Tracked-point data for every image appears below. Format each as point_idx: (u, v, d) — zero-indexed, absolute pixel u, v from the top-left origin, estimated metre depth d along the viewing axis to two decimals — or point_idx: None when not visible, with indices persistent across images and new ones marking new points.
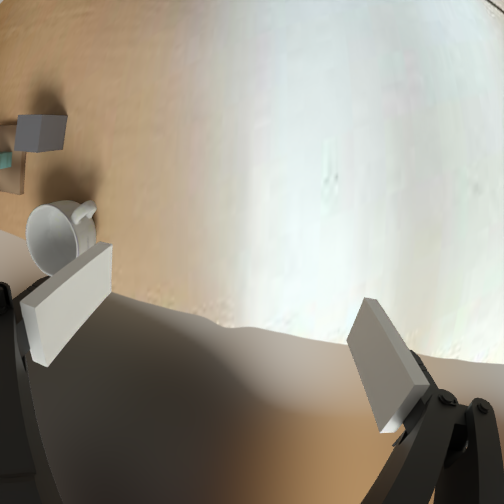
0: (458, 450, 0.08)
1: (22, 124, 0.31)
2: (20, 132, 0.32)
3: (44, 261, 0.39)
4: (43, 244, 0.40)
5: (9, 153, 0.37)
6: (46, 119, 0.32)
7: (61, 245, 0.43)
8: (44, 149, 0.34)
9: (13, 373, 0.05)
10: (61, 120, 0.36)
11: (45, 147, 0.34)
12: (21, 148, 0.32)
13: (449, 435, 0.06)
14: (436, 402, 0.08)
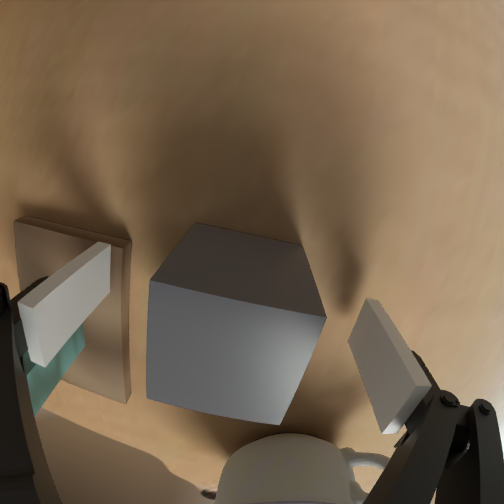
0: (459, 450, 0.08)
1: (187, 329, 0.09)
2: (178, 357, 0.10)
3: None
4: None
5: None
6: None
7: None
8: None
9: (11, 373, 0.05)
10: None
11: None
12: (189, 403, 0.11)
13: (451, 436, 0.06)
14: (438, 403, 0.08)
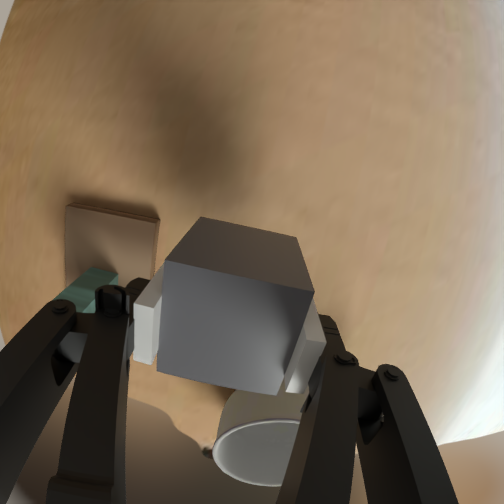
0: (375, 420, 0.09)
1: (195, 303, 0.11)
2: (186, 329, 0.11)
3: (238, 464, 0.24)
4: (226, 438, 0.25)
5: (114, 279, 0.22)
6: None
7: None
8: None
9: (115, 380, 0.07)
10: None
11: None
12: (195, 374, 0.12)
13: (356, 396, 0.08)
14: (333, 363, 0.09)
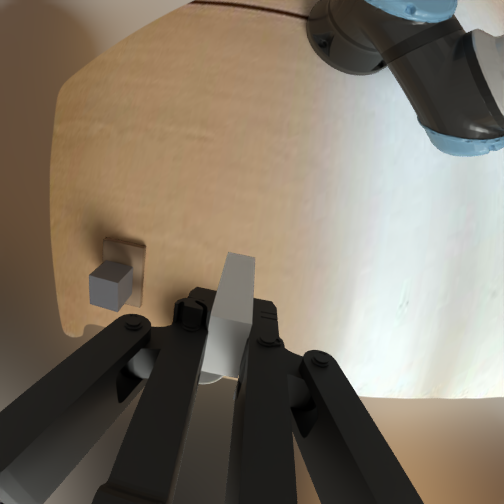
0: (310, 408, 0.10)
1: (95, 285, 0.44)
2: (95, 291, 0.45)
3: None
4: None
5: None
6: (120, 283, 0.45)
7: None
8: (121, 305, 0.47)
9: (186, 396, 0.07)
10: (129, 274, 0.49)
11: (122, 303, 0.47)
12: (98, 304, 0.45)
13: (285, 379, 0.08)
14: (256, 347, 0.09)
